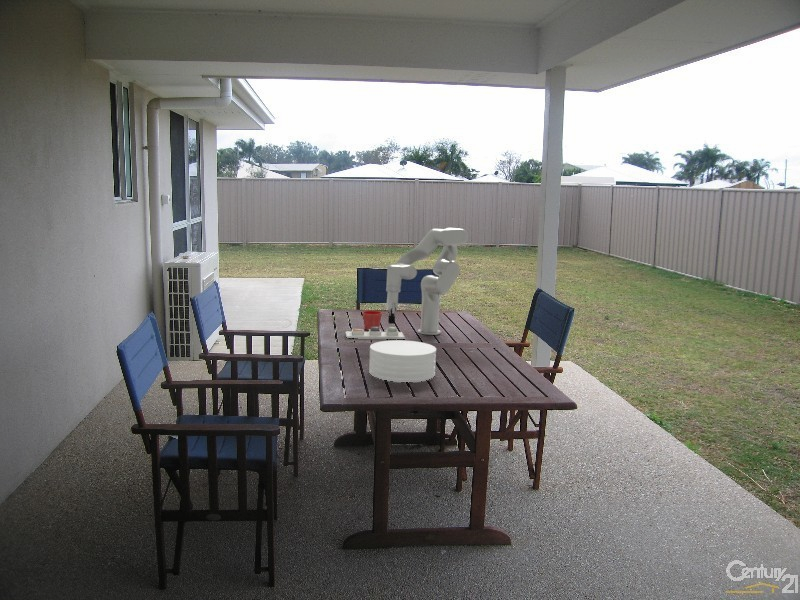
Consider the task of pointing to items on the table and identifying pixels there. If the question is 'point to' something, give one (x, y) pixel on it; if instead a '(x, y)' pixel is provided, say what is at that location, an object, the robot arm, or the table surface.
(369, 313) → the flower pot
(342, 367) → the table surface
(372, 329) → the charcoal button
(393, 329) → the sage button
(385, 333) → the button board
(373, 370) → the plate stack
